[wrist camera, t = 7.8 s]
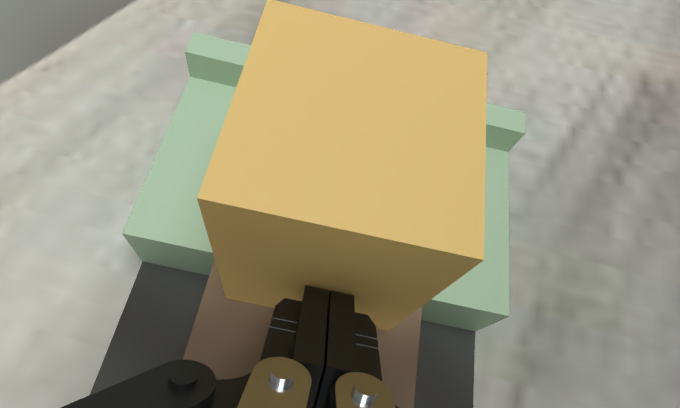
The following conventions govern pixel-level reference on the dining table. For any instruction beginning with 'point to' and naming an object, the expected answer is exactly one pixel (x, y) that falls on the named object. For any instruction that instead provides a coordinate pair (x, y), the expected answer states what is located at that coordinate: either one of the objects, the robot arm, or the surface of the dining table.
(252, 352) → the board
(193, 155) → the pale green stepped block
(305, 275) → the block
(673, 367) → the dining table surface
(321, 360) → the robot arm
